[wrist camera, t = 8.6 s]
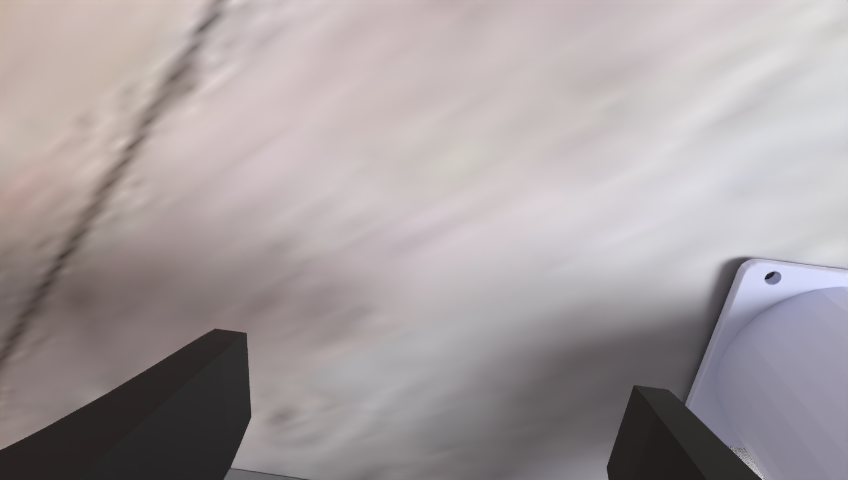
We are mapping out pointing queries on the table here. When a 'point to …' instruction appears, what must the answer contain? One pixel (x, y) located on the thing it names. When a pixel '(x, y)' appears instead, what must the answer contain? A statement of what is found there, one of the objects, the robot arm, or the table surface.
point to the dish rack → (253, 476)
